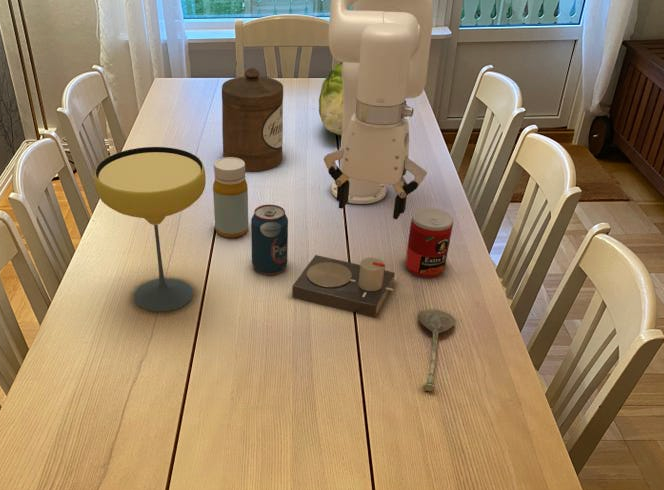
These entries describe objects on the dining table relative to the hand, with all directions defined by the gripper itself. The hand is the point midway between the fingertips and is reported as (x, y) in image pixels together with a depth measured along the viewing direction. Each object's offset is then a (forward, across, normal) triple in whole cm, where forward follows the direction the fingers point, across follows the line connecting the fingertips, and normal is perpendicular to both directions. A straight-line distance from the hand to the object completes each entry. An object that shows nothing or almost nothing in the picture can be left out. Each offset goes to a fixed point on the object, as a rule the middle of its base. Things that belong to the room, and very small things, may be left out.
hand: (369, 210), depth 123 cm
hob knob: (+15, -2, 0) cm, 15 cm away
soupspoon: (+18, -16, +11) cm, 26 cm away
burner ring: (+15, +6, 0) cm, 16 cm away
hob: (+17, +4, 0) cm, 17 cm away
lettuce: (+16, +26, -72) cm, 78 cm away
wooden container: (+16, +44, -47) cm, 66 cm away
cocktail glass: (+17, +33, +15) cm, 41 cm away
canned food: (+17, -8, -14) cm, 24 cm away
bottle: (+17, +33, -12) cm, 39 cm away
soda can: (+17, +20, -2) cm, 26 cm away
